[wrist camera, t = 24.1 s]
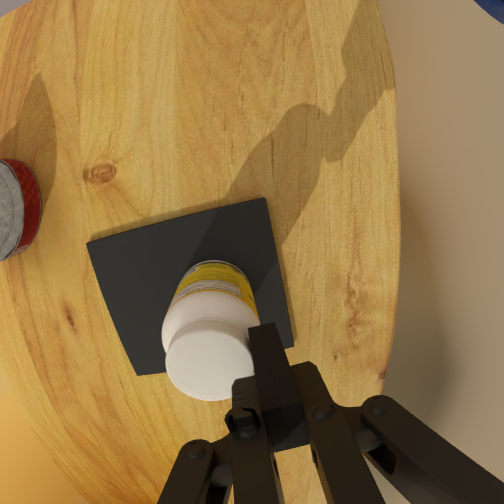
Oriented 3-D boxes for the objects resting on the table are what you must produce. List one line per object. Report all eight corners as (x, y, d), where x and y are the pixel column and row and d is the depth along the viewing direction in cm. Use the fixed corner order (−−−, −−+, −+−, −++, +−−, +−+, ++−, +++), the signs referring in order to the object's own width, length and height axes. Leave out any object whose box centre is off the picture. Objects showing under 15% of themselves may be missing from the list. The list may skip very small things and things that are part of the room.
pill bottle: (244, 330, 26) (255, 416, 15) (175, 319, 25) (149, 401, 15) (258, 264, 25) (282, 327, 14) (184, 251, 24) (153, 306, 13)
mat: (264, 197, 24) (265, 197, 23) (293, 343, 27) (294, 346, 27) (88, 242, 24) (85, 243, 23) (138, 372, 27) (137, 376, 26)
